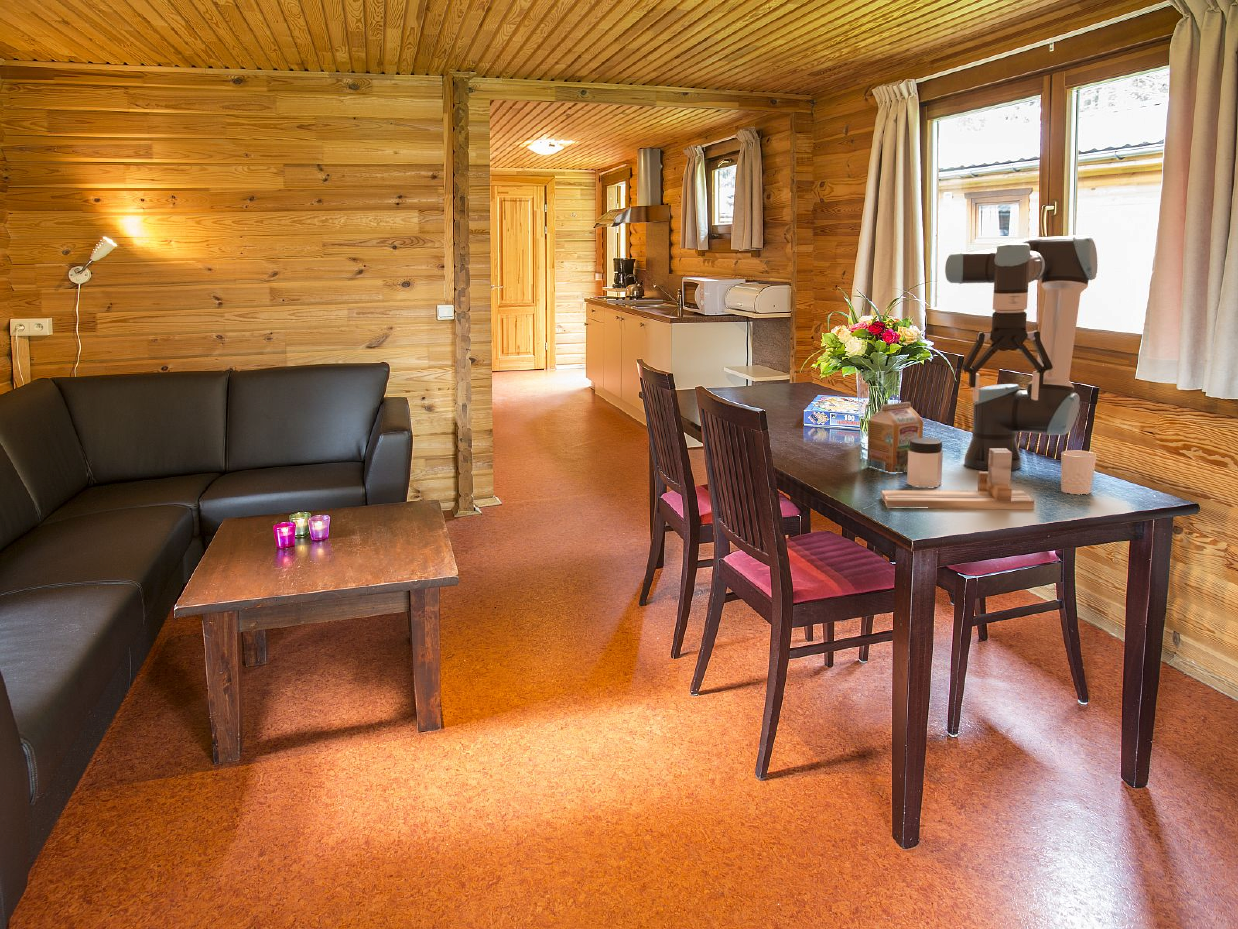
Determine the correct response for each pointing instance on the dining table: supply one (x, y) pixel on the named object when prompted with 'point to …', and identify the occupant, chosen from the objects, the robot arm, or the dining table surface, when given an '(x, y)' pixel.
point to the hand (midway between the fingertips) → (1004, 400)
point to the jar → (925, 462)
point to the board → (954, 499)
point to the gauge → (997, 474)
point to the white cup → (1077, 471)
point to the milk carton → (892, 436)
